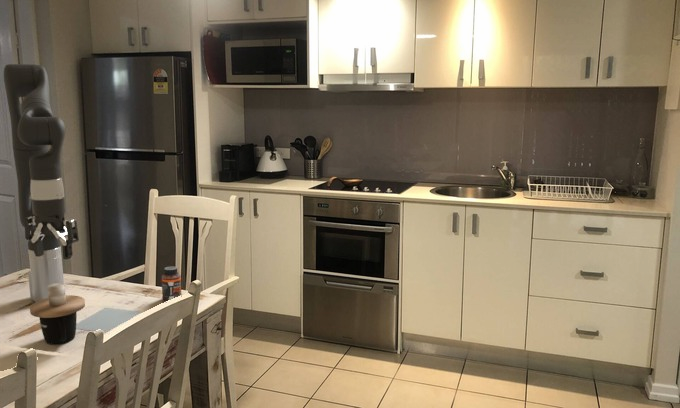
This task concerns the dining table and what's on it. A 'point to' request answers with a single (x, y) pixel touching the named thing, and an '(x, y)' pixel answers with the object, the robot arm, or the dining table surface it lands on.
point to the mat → (106, 319)
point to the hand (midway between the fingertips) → (53, 257)
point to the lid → (57, 303)
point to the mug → (59, 329)
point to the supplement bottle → (171, 283)
